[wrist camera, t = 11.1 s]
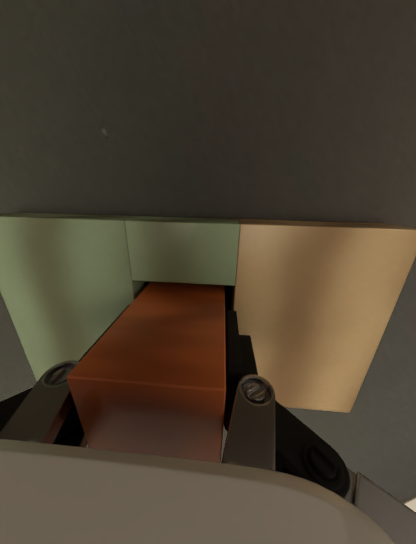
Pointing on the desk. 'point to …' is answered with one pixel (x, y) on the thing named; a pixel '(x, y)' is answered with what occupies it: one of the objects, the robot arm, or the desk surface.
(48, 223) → the green and tan board
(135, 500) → the robot arm
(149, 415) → the reddish brown rectangular block
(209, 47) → the desk surface
